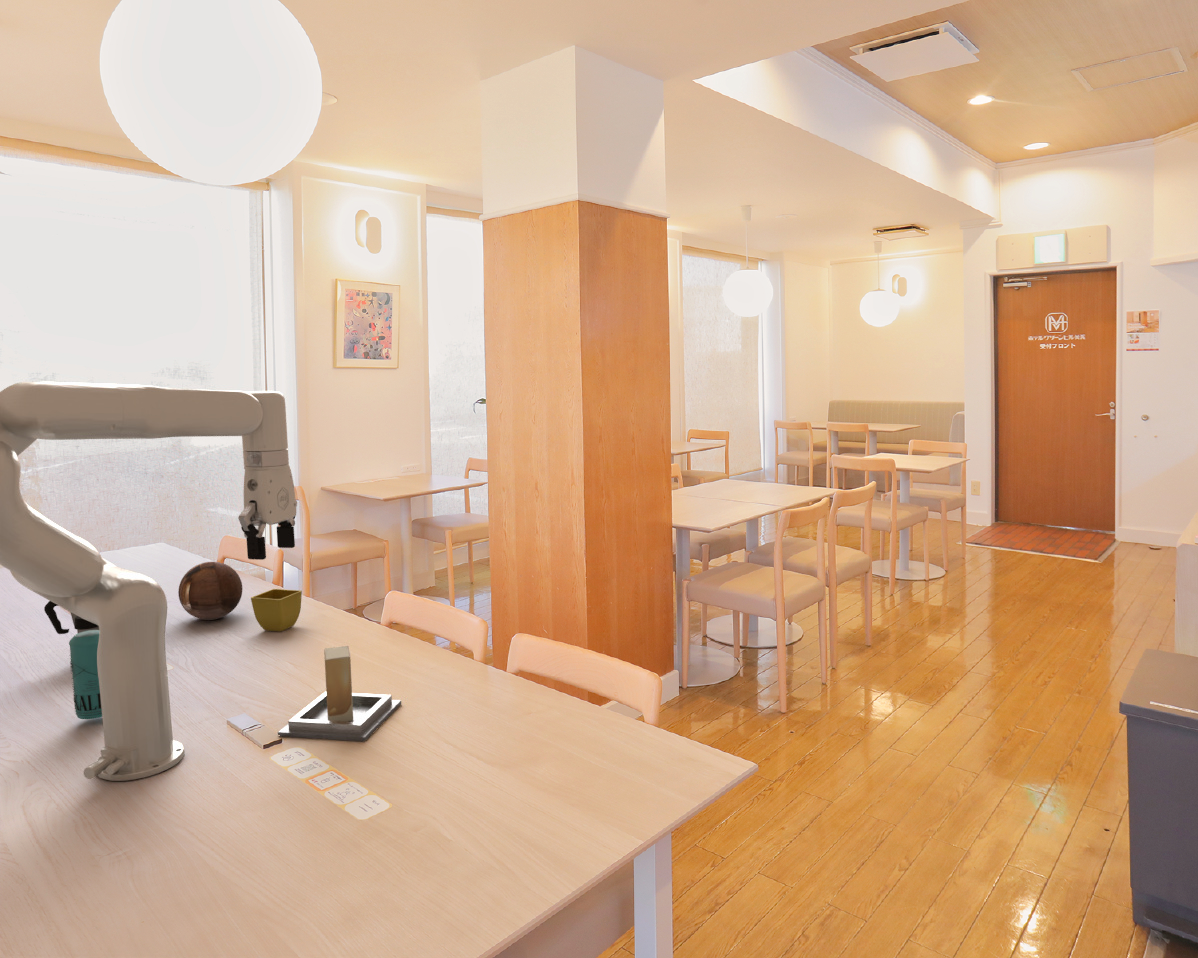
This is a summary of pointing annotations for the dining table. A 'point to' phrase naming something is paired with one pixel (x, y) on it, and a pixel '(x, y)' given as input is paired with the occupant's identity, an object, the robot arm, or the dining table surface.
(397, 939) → the dining table surface
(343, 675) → the skincare box
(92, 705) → the beverage bottle
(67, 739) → the dining table surface
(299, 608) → the flower pot
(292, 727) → the square metal tray
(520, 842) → the dining table surface
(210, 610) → the wooden sphere
